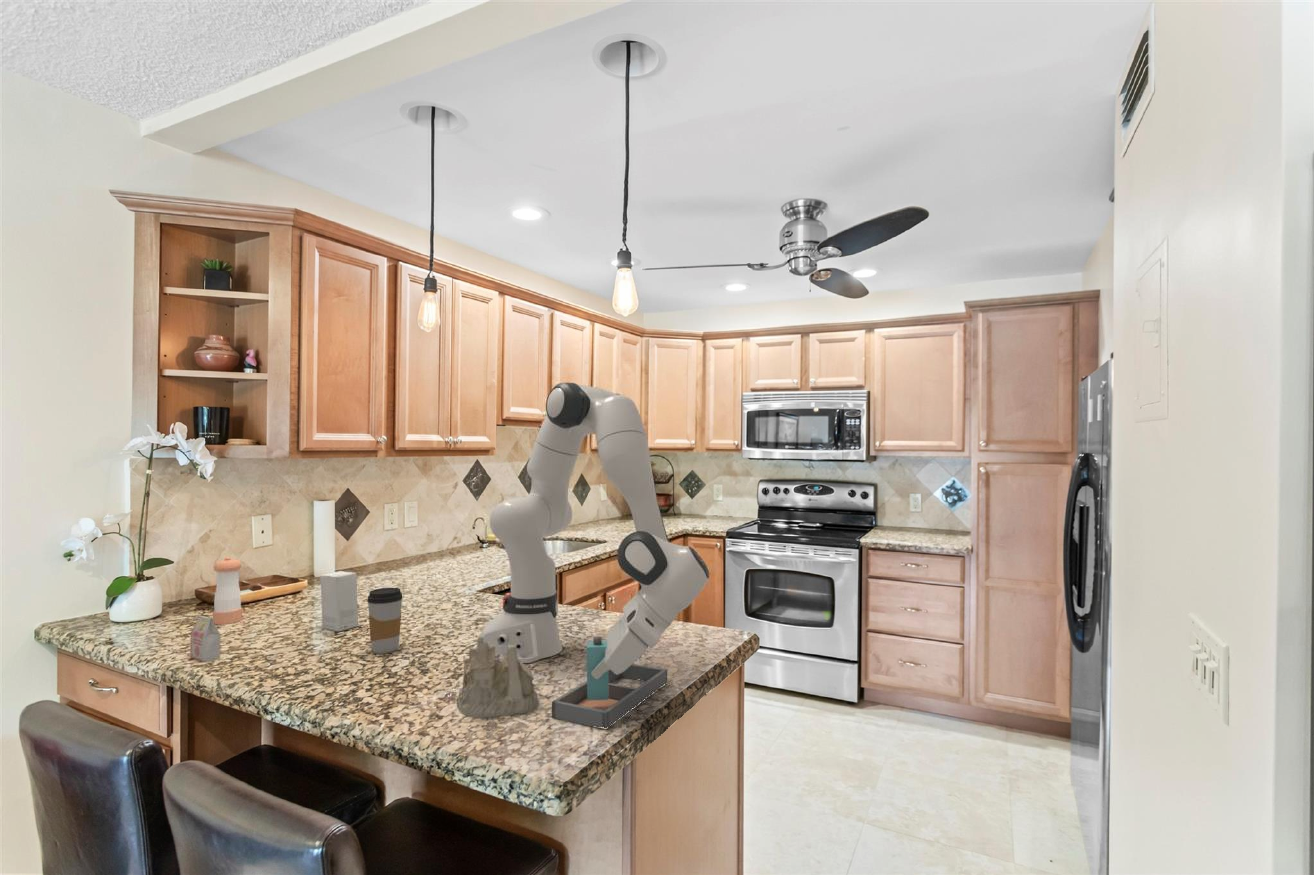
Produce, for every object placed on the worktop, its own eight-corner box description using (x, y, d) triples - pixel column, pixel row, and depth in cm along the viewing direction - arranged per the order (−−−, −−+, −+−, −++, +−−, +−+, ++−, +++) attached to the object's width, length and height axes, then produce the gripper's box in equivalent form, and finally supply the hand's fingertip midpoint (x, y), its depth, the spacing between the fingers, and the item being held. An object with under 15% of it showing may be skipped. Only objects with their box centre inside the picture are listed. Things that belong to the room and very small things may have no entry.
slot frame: (606, 729, 115) (606, 713, 115) (551, 717, 120) (551, 701, 120) (667, 683, 137) (667, 669, 137) (619, 675, 142) (618, 661, 142)
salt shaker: (231, 624, 187) (231, 559, 187) (206, 624, 187) (207, 559, 188) (247, 617, 194) (247, 555, 195) (224, 618, 195) (224, 555, 195)
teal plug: (587, 700, 121) (586, 641, 121) (588, 692, 125) (587, 635, 125) (608, 699, 121) (607, 640, 122) (608, 691, 125) (608, 634, 126)
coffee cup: (408, 649, 162) (408, 590, 162) (375, 657, 156) (375, 596, 156) (394, 642, 168) (393, 585, 168) (361, 650, 162) (361, 591, 162)
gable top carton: (207, 653, 161) (207, 613, 161) (220, 657, 157) (220, 617, 157) (190, 657, 157) (190, 616, 158) (203, 662, 154) (203, 620, 154)
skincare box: (358, 627, 183) (358, 572, 184) (336, 632, 178) (336, 576, 178) (341, 622, 188) (341, 570, 188) (319, 628, 182) (319, 573, 183)
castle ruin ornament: (536, 714, 121) (533, 634, 123) (448, 722, 120) (446, 641, 121) (542, 689, 137) (540, 618, 138) (464, 696, 135) (462, 624, 136)
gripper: (631, 595, 134) (585, 643, 134) (633, 621, 114) (579, 677, 113) (653, 615, 134) (607, 663, 134) (658, 645, 114) (604, 702, 113)
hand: (594, 670), depth 123 cm, fingers closed on teal plug, 4 cm apart
